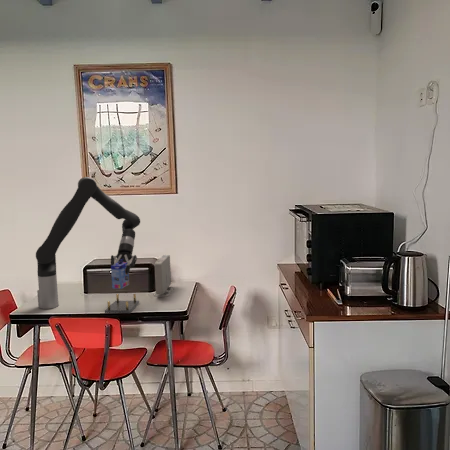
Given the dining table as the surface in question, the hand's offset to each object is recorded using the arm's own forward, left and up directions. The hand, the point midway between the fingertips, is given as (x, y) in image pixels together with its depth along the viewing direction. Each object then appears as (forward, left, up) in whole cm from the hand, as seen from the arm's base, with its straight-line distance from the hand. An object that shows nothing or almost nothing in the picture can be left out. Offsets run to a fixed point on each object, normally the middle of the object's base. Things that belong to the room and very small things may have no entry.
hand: (120, 272), depth 229 cm
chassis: (0, 0, -19) cm, 19 cm away
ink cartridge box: (0, 0, -7) cm, 7 cm away
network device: (+15, +31, -19) cm, 39 cm away
